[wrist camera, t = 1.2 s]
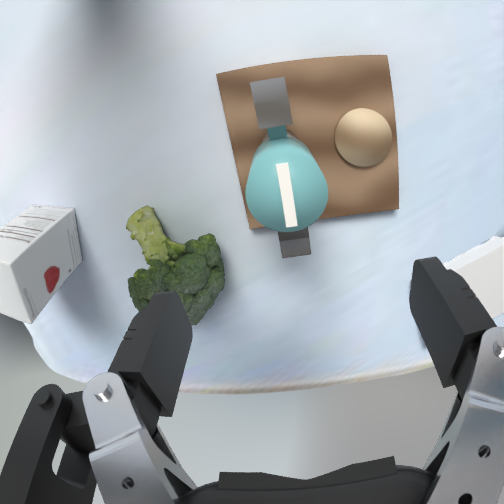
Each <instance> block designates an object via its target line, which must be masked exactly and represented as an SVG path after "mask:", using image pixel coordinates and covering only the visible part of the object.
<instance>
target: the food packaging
mask: <svg viewBox="0 0 504 504" xmlns="http://www.w3.org/2000/svg"><path fill="white" fill-rule="evenodd" d="M443 265H444V267H445V268H446V269H447V270H448V269H452V270H453V271H455V272H456V273H458V274H459V275H461V276H462V277H463V278H464V279H465V281H466V282H467V283H468V285H469V286H470V289H472V290H473V292H474V293H475V295H476V297H478V299H479V300H480V302H481V303H482V305H483V306H484V307H485V309H486V310H487V312H488V313H489V315H490V316H491V318H492V319H493V318H495V317H497V316H498V315H500V314H502V313H504V237H497V236H493V237H491V238H490V239H489V240H488V241H487V242H485V243H483V244H481V245H477V246H475V247H473V248H471V249H470V250H468V251H467V252H465V253H462V254H460V255H458V256H456V257H454V258H453V259H452V260H451V261H447V262H445V263H444V264H443ZM411 282H412V280H411Z"/></svg>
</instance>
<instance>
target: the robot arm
mask: <svg viewBox="0 0 504 504" xmlns="http://www.w3.org/2000/svg"><path fill="white" fill-rule="evenodd" d="M409 302H410V309H411V313H412V315H413V317H414V320H415V322H416V324H417V326H418V328H419V330H420V333H421V335H422V337H423V339H424V342H425V344H426V346H427V349H428V351H429V353H430V356H431V358H432V360H433V363H434V365H435V368H436V370H437V373H438V375H439V378H440V380H441V383H442V385H443V388H446V387H449V386H452V385H455V386H456V388H457V390H458V391H457V393H456V395H455V397H454V400H453V403H452V406H451V409H450V412H449V414H448V417H447V419H446V422H445V425H444V427H443V429H442V432H441V434H440V436H439V439H438V441H437V443H436V445H435V447H434V449H433V451H432V453H431V454H430V456H429V458H428V459H427V462H426V463H425V465H424V467H423V469H420V468H415V467H412V466H404V465H395V460H394V456H392V457H387V458H382V459H378V460H373V461H368V462H363V463H356V464H351V465H349V466H346V467H344V468H341V469H339V470H336V471H333V472H330V473H327V474H324V475H322V476H318V477H316V478H312V479H308V480H302V479H295V478H289V477H283V476H278V475H272V474H267V473H262V472H259V473H257V472H256V473H255V472H254V473H253V472H252V473H244V472H239V473H238V472H220V475H219V481H217V482H212V483H209V484H205V485H203V486H201V487H197V486H196V485H195V483H194V482H193V481H192V479H191V478H190V477H189V476H188V475H187V473H186V472H185V471H184V469H183V468H182V466H181V465H180V463H179V461H178V460H177V458H176V456H175V454H174V453H173V451H172V449H171V447H170V446H169V444H168V442H167V440H166V438H165V436H164V435H163V433H162V431H161V429H160V427H159V426H158V424H157V423H158V419H159V416H165V417H172V414H173V410H174V407H175V403H176V399H177V395H178V391H179V387H180V383H181V379H182V376H183V372H184V368H185V364H186V361H187V357H188V353H189V350H190V346H191V342H192V327H191V323H190V321H189V318H188V316H187V314H186V311H185V309H184V306H183V304H182V301H181V299H180V296H179V294H178V293H177V292H176V291H169V292H159V293H154V294H153V296H152V298H151V300H150V302H149V304H148V306H147V308H143V309H142V310H141V311H140V312H139V313H138V314H137V315H136V316H135V317H134V318H133V320H132V322H131V324H130V326H129V328H128V331H127V332H126V334H125V336H124V340H122V342H121V344H120V346H119V348H118V351H117V353H116V355H115V357H114V359H113V361H112V363H111V366H110V368H109V370H108V372H107V373H102V374H99V375H97V376H95V377H94V378H92V379H91V380H90V381H89V382H88V383H87V385H86V386H85V388H84V390H83V391H79V392H74V393H69V394H65V393H64V392H63V391H62V389H61V388H60V387H59V386H57V385H55V384H48V385H45V386H43V387H42V388H40V389H39V390H38V391H37V392H36V393H35V394H34V396H33V398H32V400H31V402H30V404H29V406H28V408H27V410H26V413H25V415H24V417H23V419H22V422H21V424H20V426H19V428H18V431H17V434H16V436H15V438H14V440H13V443H12V445H11V448H10V451H9V453H8V456H7V458H6V461H5V464H4V467H3V469H2V472H1V475H0V504H92V501H93V497H94V492H95V488H96V484H98V487H99V490H100V492H101V495H102V498H103V500H104V503H105V504H497V502H498V499H499V496H500V494H501V491H502V488H503V486H504V327H497V326H496V324H495V323H494V321H493V319H492V318H491V316H490V315H489V313H488V312H487V310H486V309H485V307H484V306H483V305H482V303H481V302H480V300H479V299H478V297H476V295H475V293H474V292H473V290H472V289H470V286H469V285H468V283H467V282H466V281H465V279H464V278H463V277H462V276H461V275H459V274H458V273H456V272H455V271H453V270H452V269H448V270H447V269H446V268H445V267H444V265H443V264H442V263H441V261H440V260H439V259H438V258H437V257H430V258H424V259H418V260H415V262H414V265H413V273H412V282H411V290H410V297H409ZM60 439H61V440H62V441H63V442H65V443H66V447H65V450H64V453H63V456H62V459H61V463H60V466H59V469H58V472H57V475H55V474H54V472H53V470H52V461H53V458H54V455H55V452H56V449H57V446H58V443H59V440H60Z"/></svg>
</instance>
